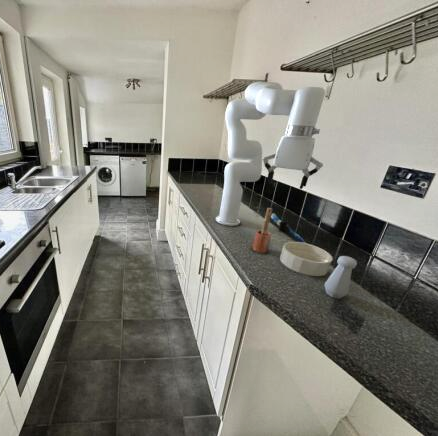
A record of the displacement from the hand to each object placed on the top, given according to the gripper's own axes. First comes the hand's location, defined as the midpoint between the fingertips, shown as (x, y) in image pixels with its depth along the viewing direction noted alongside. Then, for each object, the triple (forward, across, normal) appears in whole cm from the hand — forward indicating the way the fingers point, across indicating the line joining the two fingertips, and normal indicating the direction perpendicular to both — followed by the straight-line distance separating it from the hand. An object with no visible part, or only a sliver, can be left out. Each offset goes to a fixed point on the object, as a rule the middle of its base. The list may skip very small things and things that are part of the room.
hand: (284, 185), depth 79 cm
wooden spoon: (+29, +4, -6) cm, 30 cm away
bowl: (+29, -12, -4) cm, 32 cm away
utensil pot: (+29, +4, -6) cm, 30 cm away
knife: (+30, -2, -33) cm, 44 cm away
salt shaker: (+29, -22, +8) cm, 38 cm away
